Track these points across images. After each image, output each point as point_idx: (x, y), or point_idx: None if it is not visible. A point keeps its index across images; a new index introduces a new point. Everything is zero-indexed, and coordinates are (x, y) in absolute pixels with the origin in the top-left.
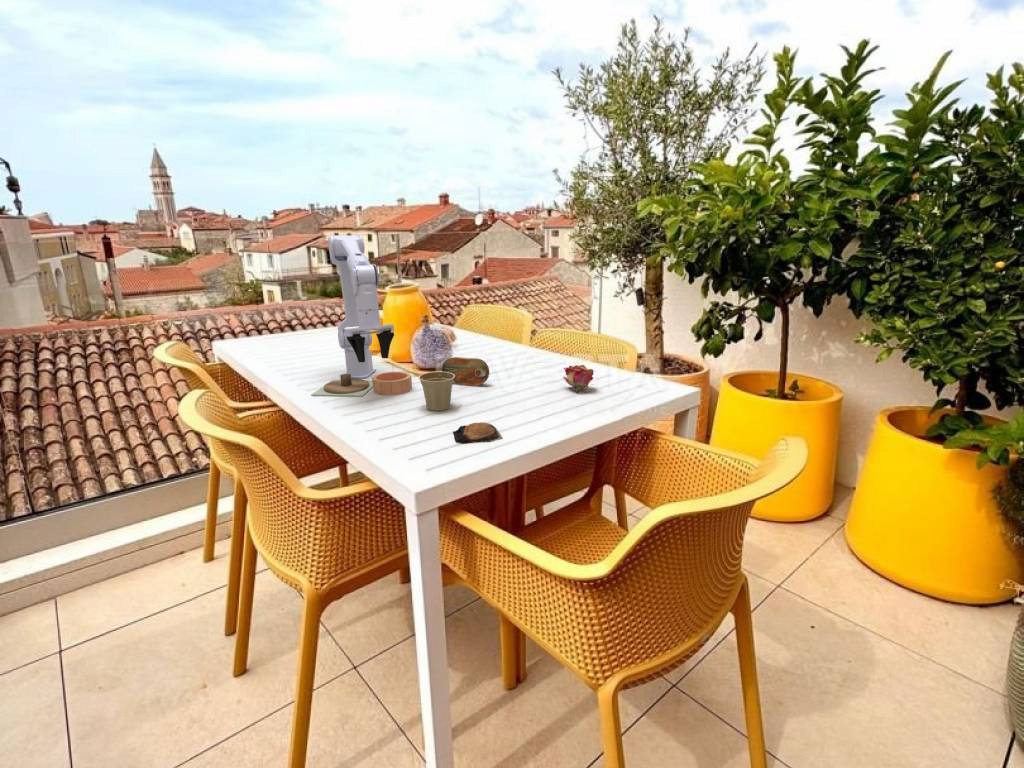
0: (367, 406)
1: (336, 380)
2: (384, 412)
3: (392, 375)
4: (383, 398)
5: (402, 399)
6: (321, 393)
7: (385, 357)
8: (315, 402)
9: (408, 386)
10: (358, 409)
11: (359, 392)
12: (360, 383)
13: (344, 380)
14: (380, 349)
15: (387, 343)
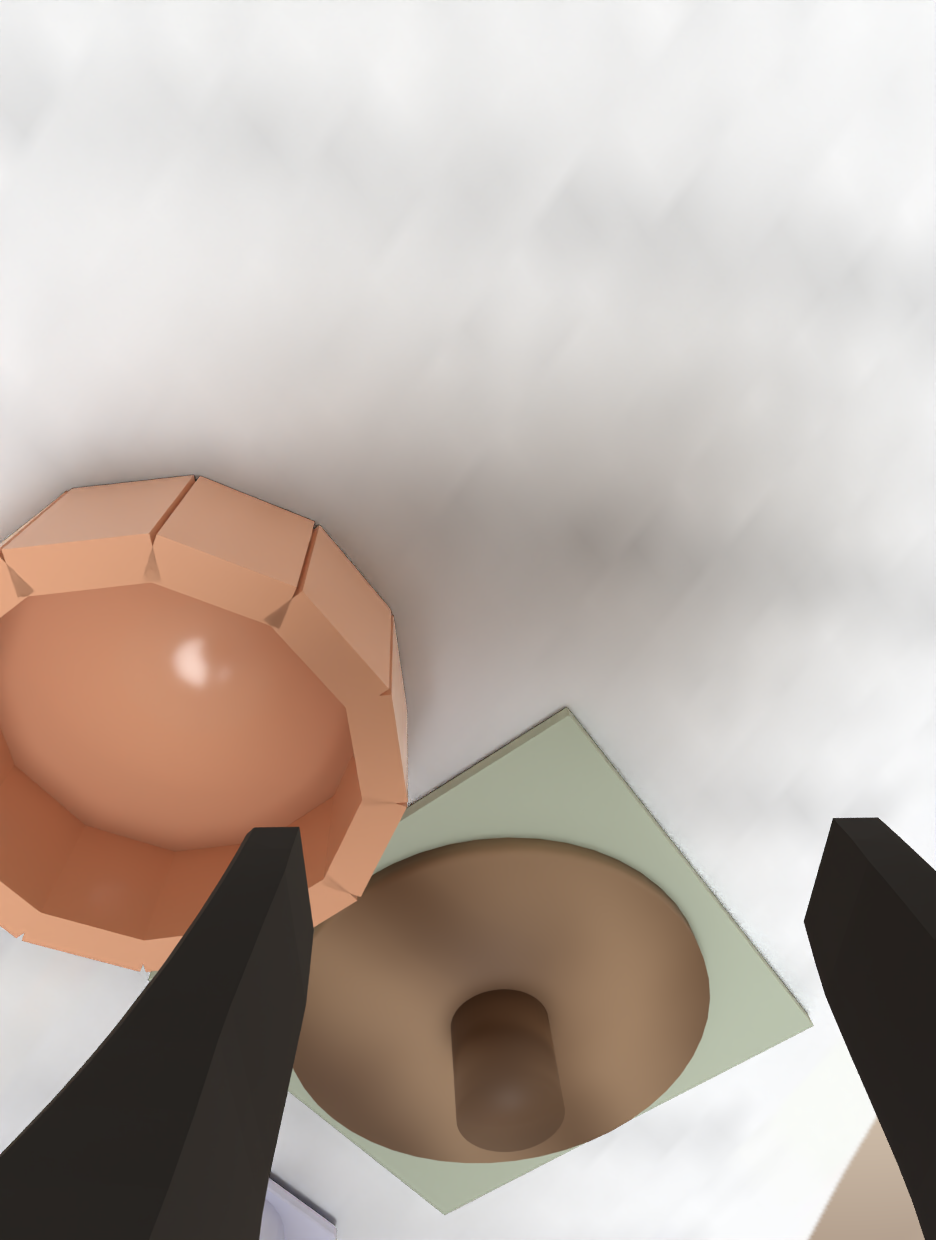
0: (753, 398)
1: (434, 1189)
2: (807, 15)
3: (56, 883)
4: (457, 499)
5: (325, 281)
6: (748, 997)
7: (299, 856)
8: None
9: (59, 507)
10: (877, 388)
11: (523, 809)
12: (384, 980)
13: (546, 1050)
14: (281, 1115)
15: (176, 1110)
